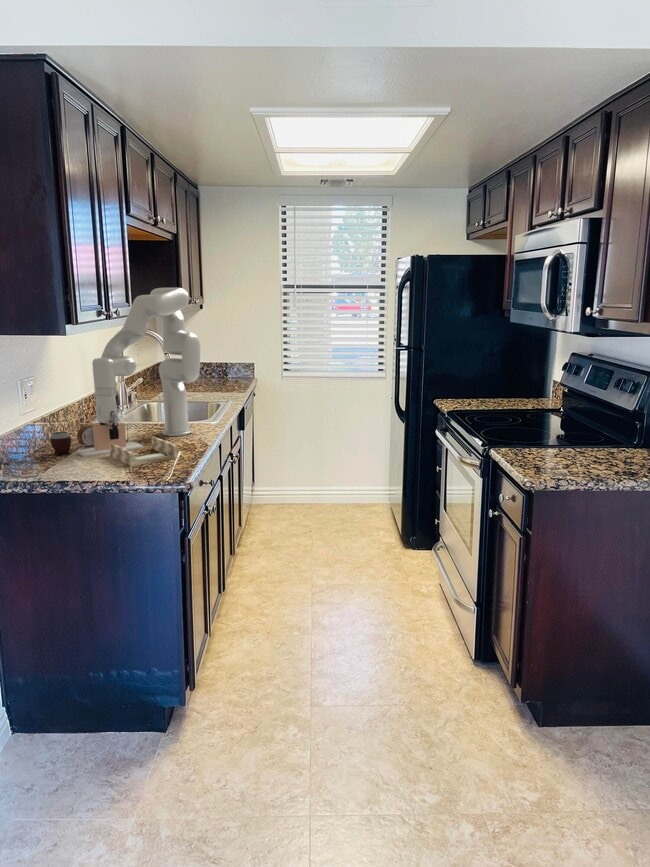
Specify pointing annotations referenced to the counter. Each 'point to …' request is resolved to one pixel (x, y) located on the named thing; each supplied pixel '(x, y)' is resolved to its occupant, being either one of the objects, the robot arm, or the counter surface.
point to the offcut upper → (148, 457)
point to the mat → (93, 452)
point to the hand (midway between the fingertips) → (109, 437)
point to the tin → (86, 435)
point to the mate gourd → (60, 441)
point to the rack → (157, 445)
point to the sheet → (107, 437)
